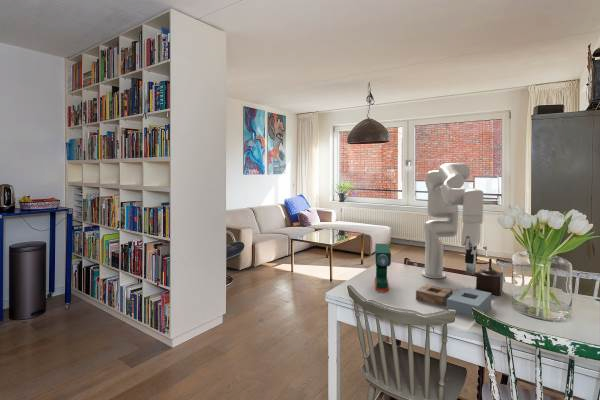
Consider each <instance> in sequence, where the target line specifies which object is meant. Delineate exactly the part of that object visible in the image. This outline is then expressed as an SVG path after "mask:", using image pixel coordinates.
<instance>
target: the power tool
mask: <svg viewBox="0 0 600 400" xmlns="http://www.w3.org/2000/svg"><path fill="white" fill-rule="evenodd" d="M374 256H375V268H376V269H375V277H374V287H375V289H374V290H375V291H380V290H382V292H389V291H390V287H389V281H388V267H390V266H391V265H392V261H391V260H392V259H391V258H392V252H391V249H390V248H389V244H388V243H376V242H375V251H374Z"/></svg>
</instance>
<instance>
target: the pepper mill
mask: <svg viewBox="0 0 600 400" xmlns="http://www.w3.org/2000/svg"><path fill="white" fill-rule="evenodd" d="M478 256H479V254H478V253H477V257H478ZM487 264H488V267H487V268H485V269H484V268H483V269H482V268H481V269H480V270H478V272H477V273H476V275H475V276H476V279H475V280H476V282H475V283H476V284H475V290H480V291H484V292H489V293H491V297H493V296H494V297H498V296H499V297H500V296H501V295H502V294H503V283H504V272H501V271H497V270H496V269H494V268H493V267H492V264H493V260H492V258H489V259H488V261H486V262H485V261H483V262H482V261H481V262H480V261H479V262H478V261H476V265H487ZM501 293H502V294H501Z"/></svg>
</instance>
